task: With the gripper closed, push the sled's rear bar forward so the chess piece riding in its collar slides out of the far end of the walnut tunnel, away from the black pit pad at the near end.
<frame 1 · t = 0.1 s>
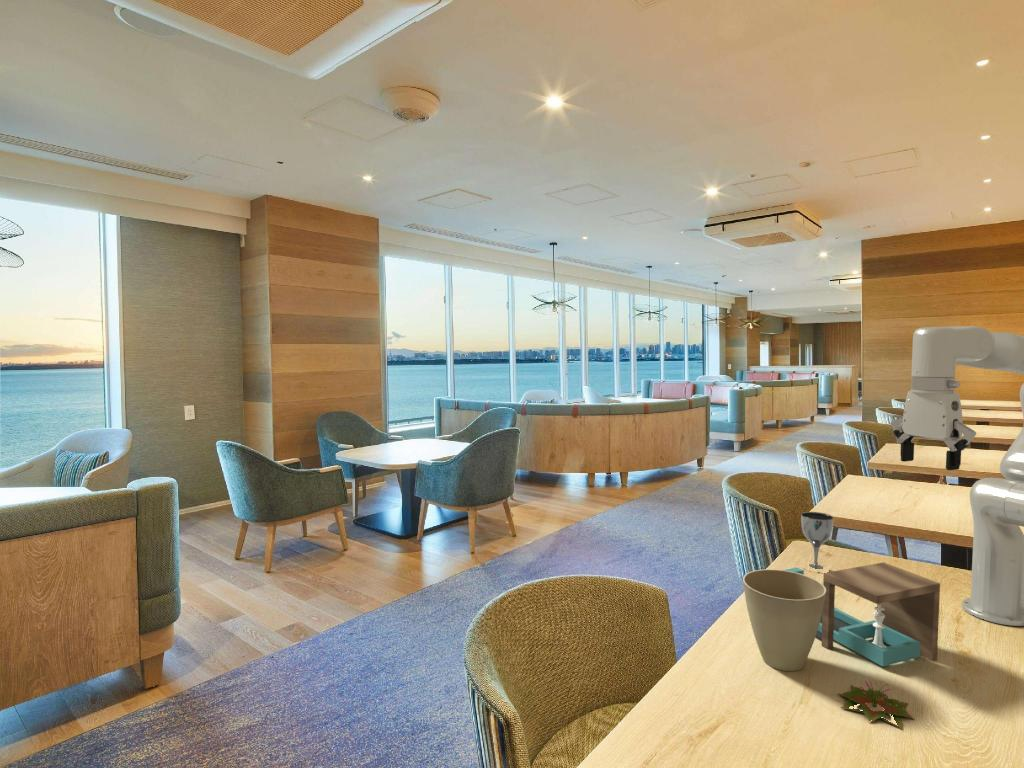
hand: (929, 465, 126), 37 cm above the table, tool pointing down, fingers open, 9 cm apart
sled: (834, 610, 130), point 4 cm above the table, slide at 0.0 cm
tunnel: (877, 652, 120), on the table
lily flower: (874, 710, 102), on the table
wine glass: (815, 568, 165), on the table
chess piece: (877, 653, 120), resting in sled
plant pot: (781, 662, 117), on the table
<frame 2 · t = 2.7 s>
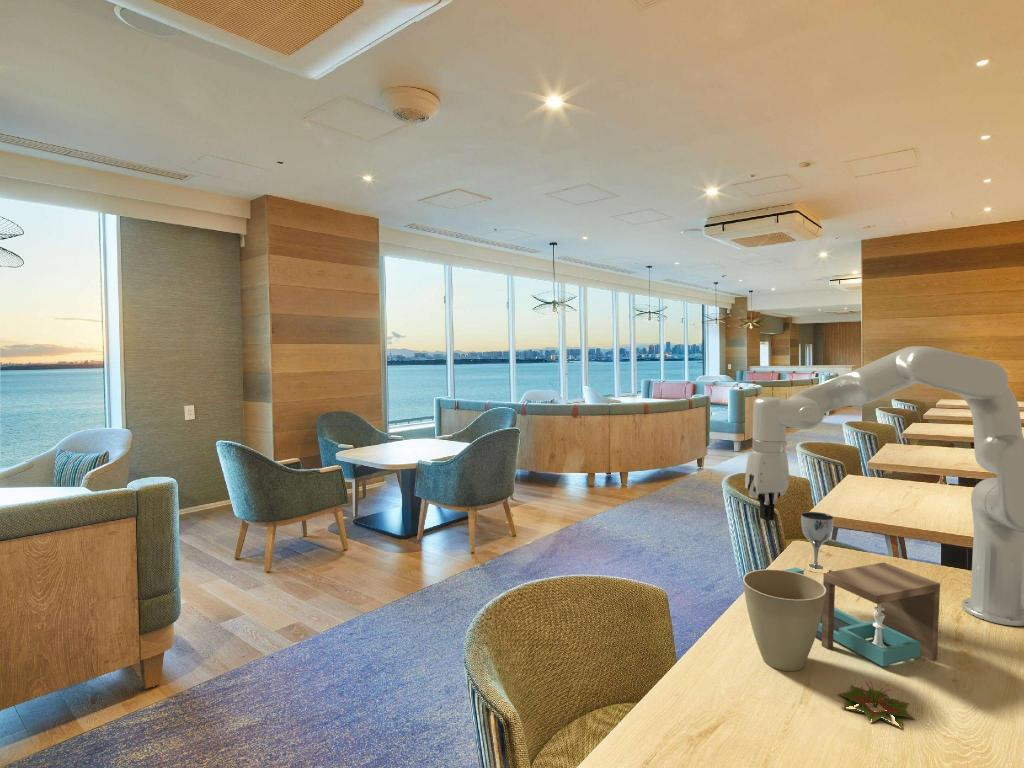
hand: (766, 519, 148), 19 cm above the table, tool pointing down, fingers closed
nothing on the table moved.
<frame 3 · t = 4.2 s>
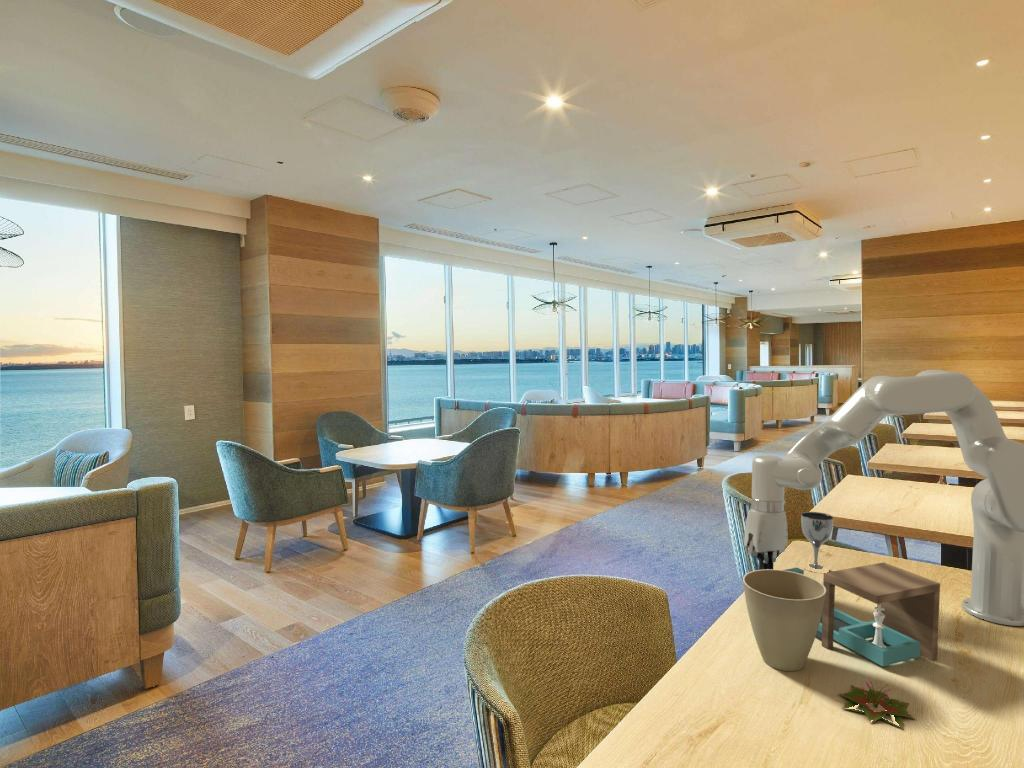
hand: (765, 576, 149), 4 cm above the table, tool pointing down, fingers closed
nothing on the table moved.
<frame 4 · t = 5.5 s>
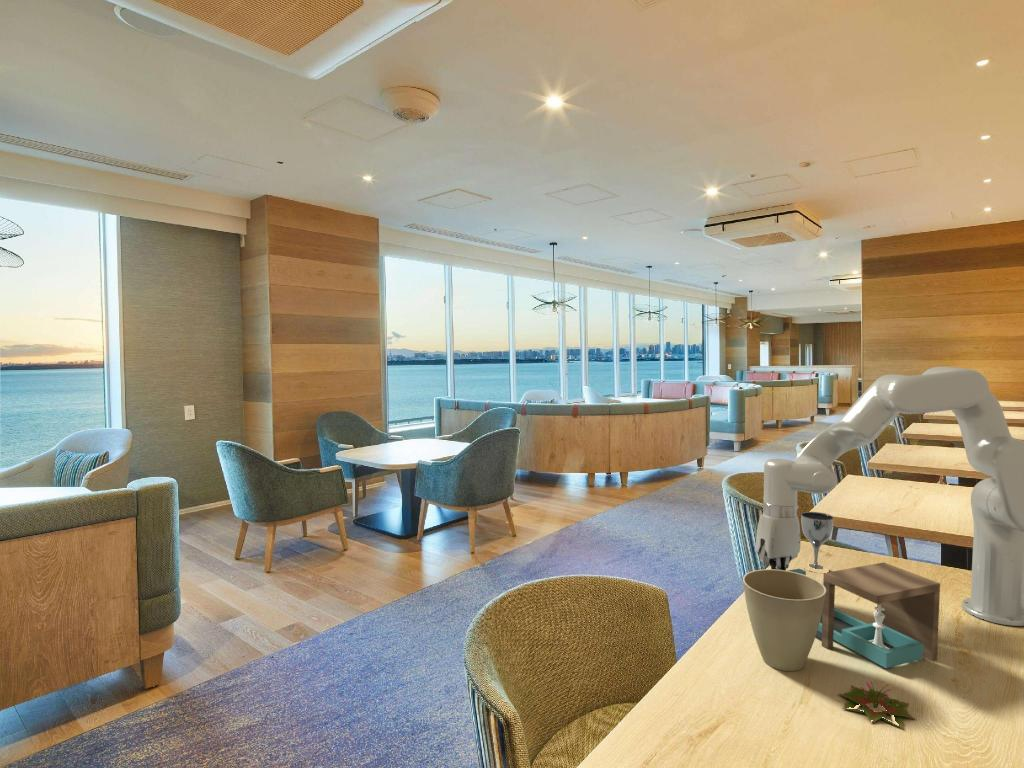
hand: (778, 583, 145), 4 cm above the table, tool pointing down, fingers closed
sled: (837, 612, 129), point 4 cm above the table, slide at 0.7 cm, touching gripper
everything else where it was.
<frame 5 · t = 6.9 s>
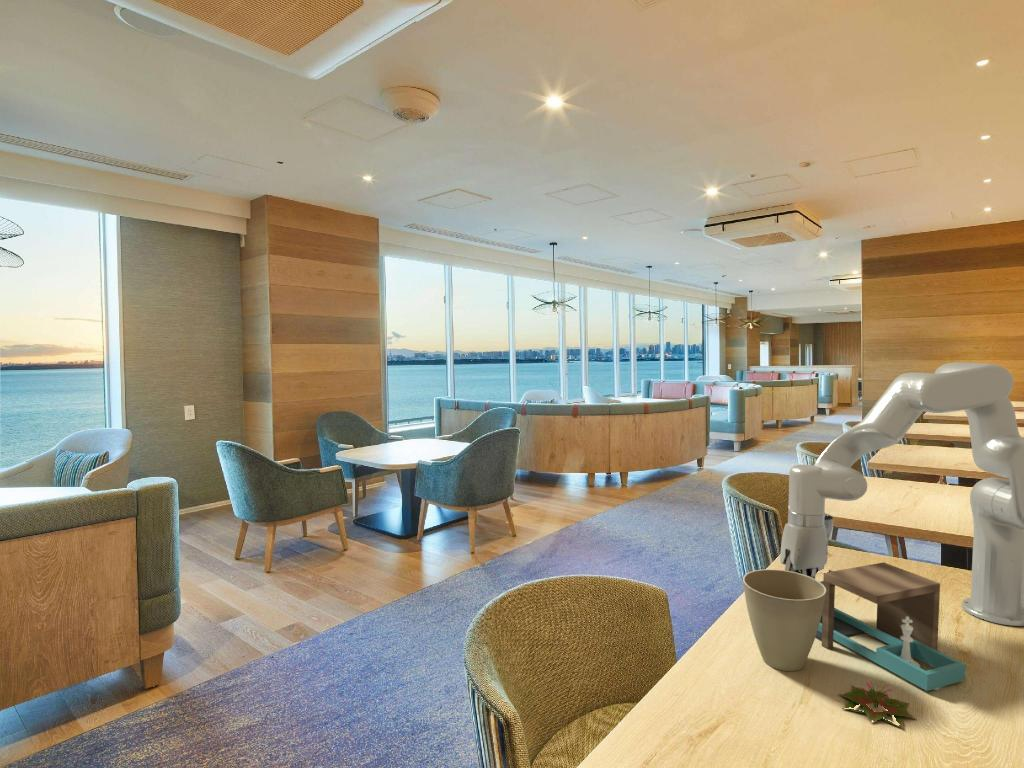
hand: (803, 595, 138), 4 cm above the table, tool pointing down, fingers closed
sled: (869, 628, 122), point 4 cm above the table, slide at 8.6 cm, touching chess piece, gripper
chess piece: (905, 667, 115), resting in sled
everything else where it was.
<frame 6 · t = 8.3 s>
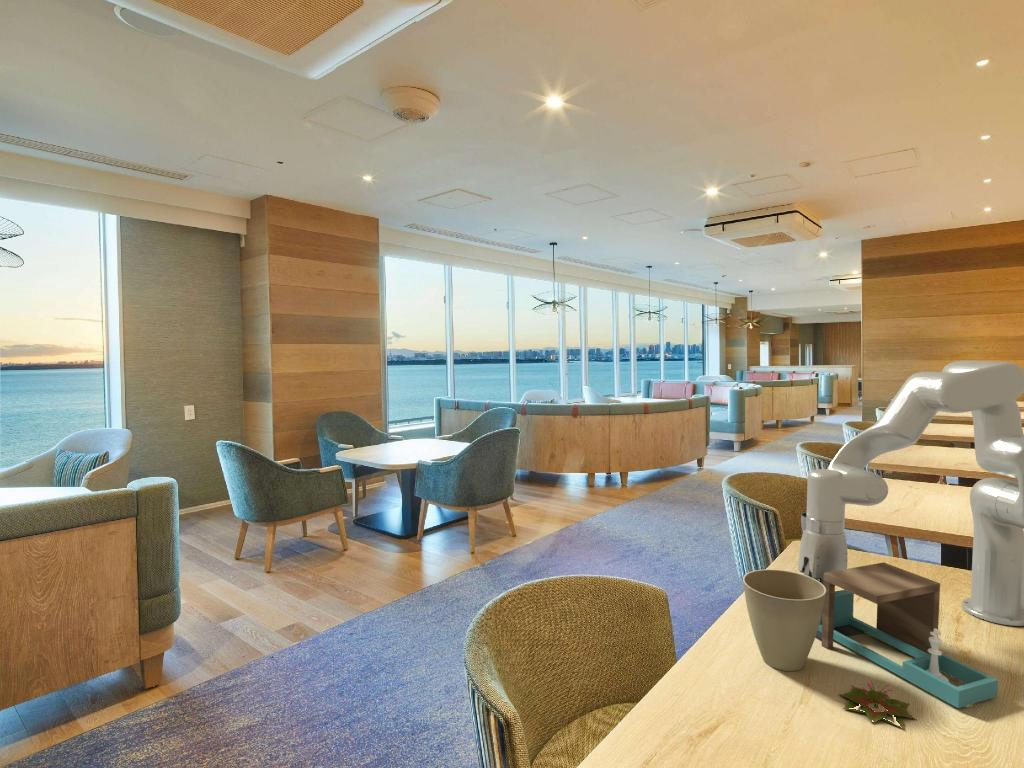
hand: (822, 605, 133), 4 cm above the table, tool pointing down, fingers closed
sled: (894, 640, 117), point 4 cm above the table, slide at 13.9 cm, touching chess piece, gripper
chess piece: (933, 682, 110), resting in sled
everything else where it was.
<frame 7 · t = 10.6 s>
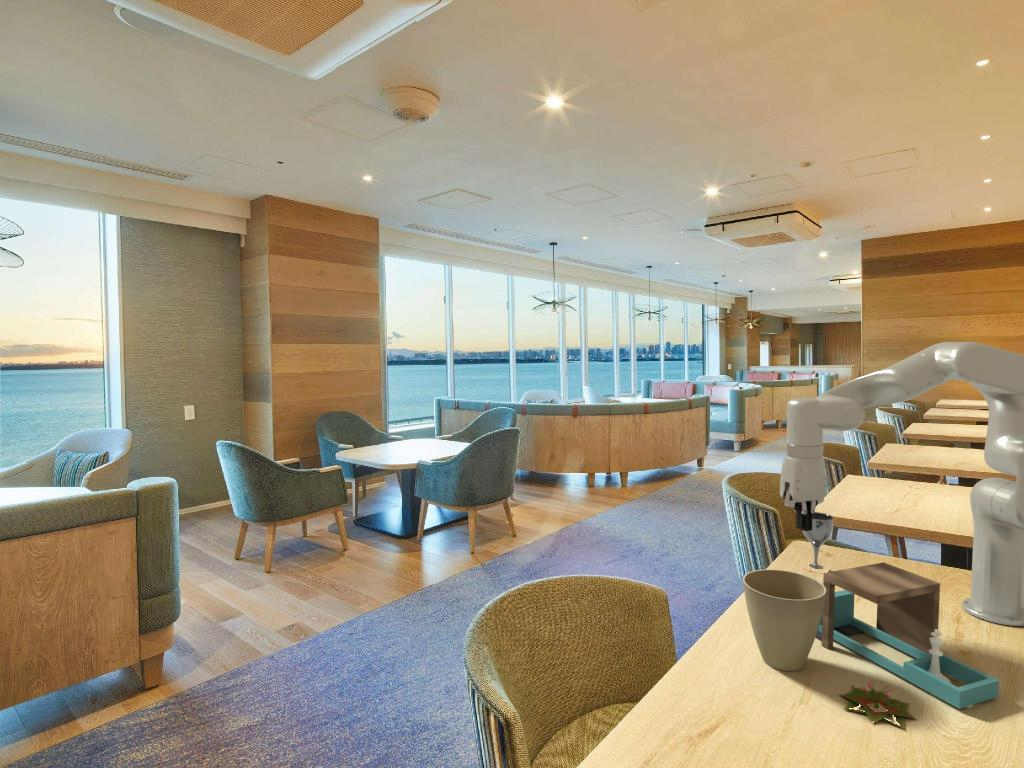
hand: (804, 529, 138), 20 cm above the table, tool pointing down, fingers closed
sled: (895, 641, 116), point 4 cm above the table, slide at 14.1 cm
chess piece: (934, 682, 110), resting in sled
everything else where it was.
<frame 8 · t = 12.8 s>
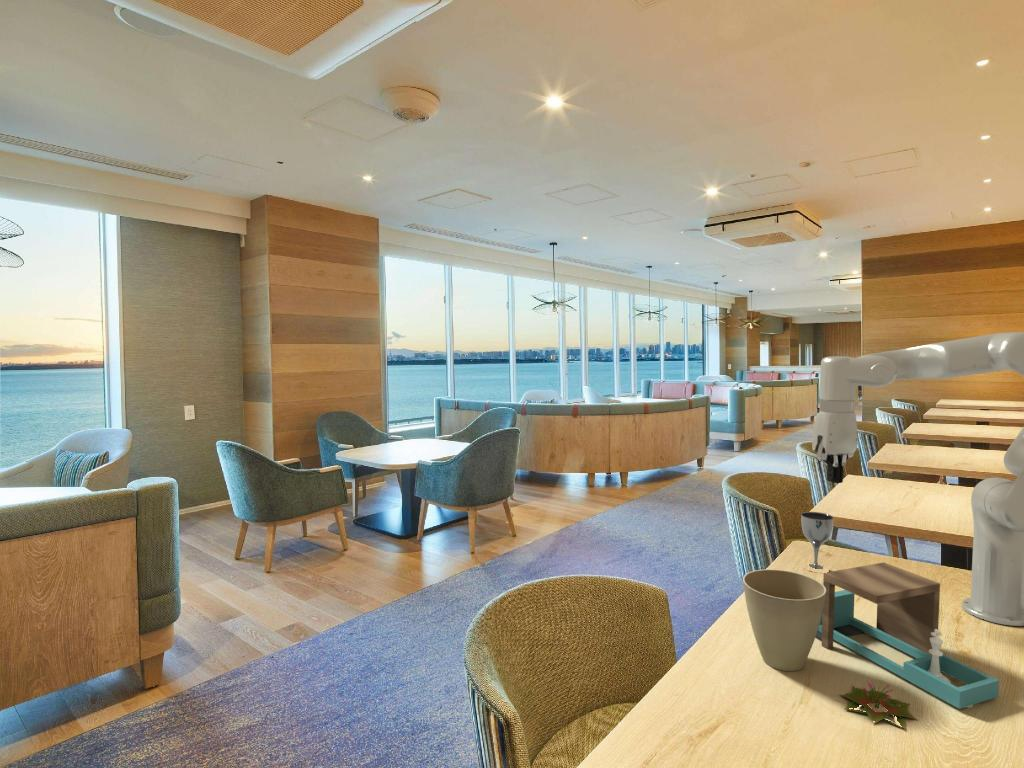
hand: (834, 481, 144), 29 cm above the table, tool pointing down, fingers closed
nothing on the table moved.
at the end: sled slide at 14.1 cm; chess piece inside the target area (3.2 cm from its centre), resting in sled; chess piece tilted 0° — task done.
